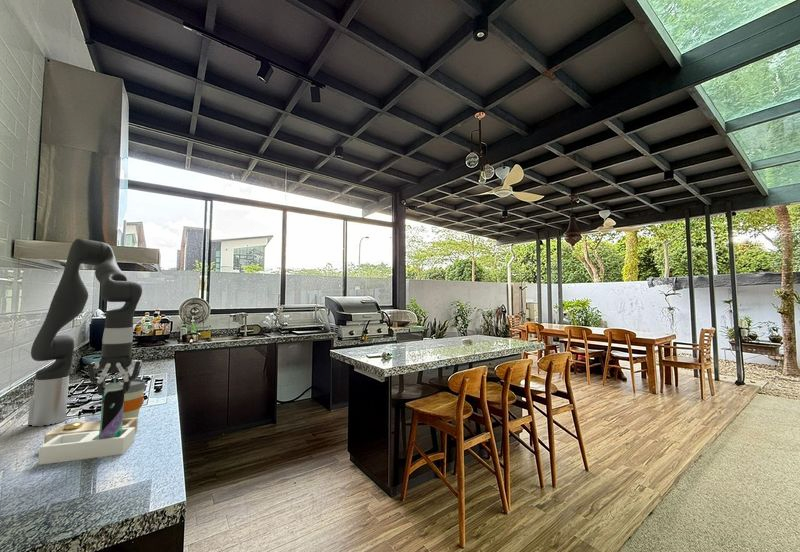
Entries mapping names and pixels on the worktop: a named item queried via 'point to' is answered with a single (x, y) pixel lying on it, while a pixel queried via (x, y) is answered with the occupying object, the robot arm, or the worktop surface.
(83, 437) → the frame
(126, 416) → the reusable coffee cup
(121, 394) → the spray can
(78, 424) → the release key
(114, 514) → the worktop surface
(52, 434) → the socket block
